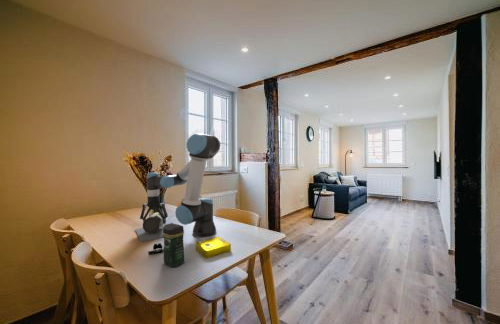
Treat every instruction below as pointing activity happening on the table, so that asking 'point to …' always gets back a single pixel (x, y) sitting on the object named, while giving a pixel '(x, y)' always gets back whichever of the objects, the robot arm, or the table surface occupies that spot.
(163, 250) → the dark grey angular piece
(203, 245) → the element tile
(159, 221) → the coffee can
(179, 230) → the coffee jar
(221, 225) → the table surface
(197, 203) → the robot arm
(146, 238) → the rubber mat
